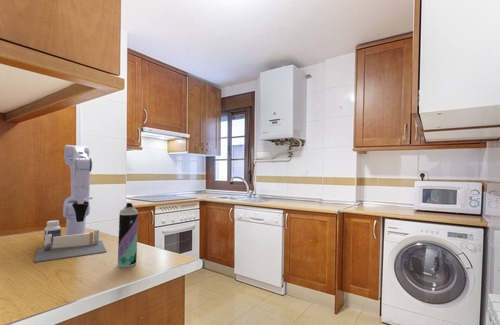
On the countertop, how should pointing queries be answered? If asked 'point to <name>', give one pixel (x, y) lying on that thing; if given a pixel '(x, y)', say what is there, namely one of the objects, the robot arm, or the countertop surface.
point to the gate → (72, 240)
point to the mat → (69, 252)
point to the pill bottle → (52, 230)
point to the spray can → (127, 236)
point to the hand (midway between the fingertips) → (80, 220)
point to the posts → (49, 238)
